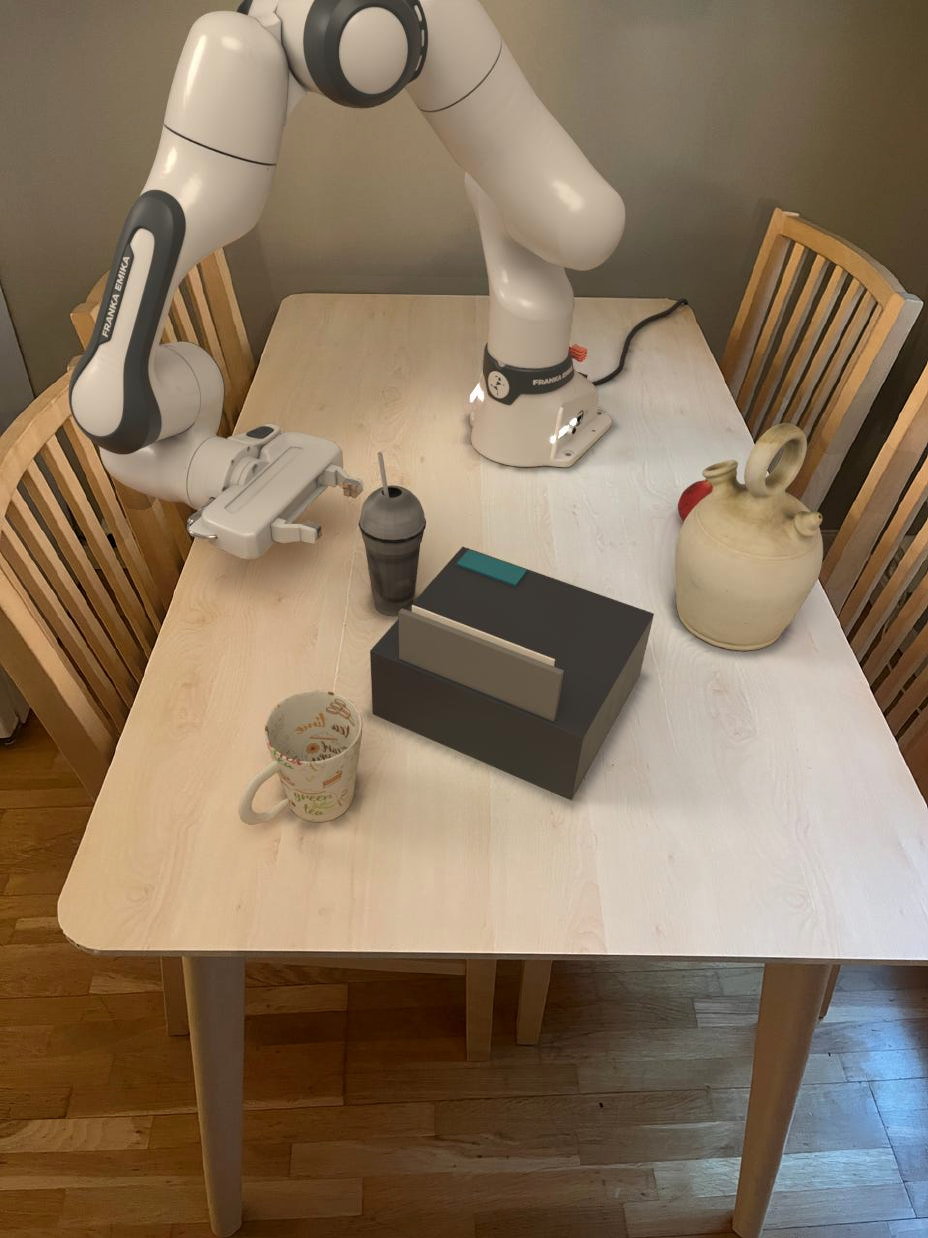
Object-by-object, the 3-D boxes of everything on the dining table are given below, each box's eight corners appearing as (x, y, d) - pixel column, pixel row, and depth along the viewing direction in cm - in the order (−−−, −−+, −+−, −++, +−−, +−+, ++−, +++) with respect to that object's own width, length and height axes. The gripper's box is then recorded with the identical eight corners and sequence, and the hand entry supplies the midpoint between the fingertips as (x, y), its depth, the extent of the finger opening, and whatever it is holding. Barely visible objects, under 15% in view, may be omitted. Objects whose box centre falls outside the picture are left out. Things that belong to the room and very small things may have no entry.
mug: (384, 794, 87) (382, 723, 80) (280, 880, 80) (267, 810, 73) (324, 747, 91) (317, 675, 84) (220, 825, 83) (203, 753, 77)
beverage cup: (417, 629, 104) (417, 478, 91) (354, 618, 105) (346, 468, 91) (431, 588, 109) (434, 440, 96) (372, 579, 110) (366, 431, 97)
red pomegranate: (669, 536, 119) (682, 484, 113) (676, 512, 123) (688, 460, 118) (715, 547, 118) (729, 494, 112) (720, 522, 122) (735, 470, 116)
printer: (461, 606, 107) (466, 493, 97) (640, 673, 100) (667, 560, 90) (372, 714, 94) (367, 598, 84) (571, 800, 87) (593, 685, 77)
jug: (638, 589, 111) (678, 401, 94) (747, 564, 115) (805, 380, 98) (706, 676, 100) (765, 481, 83) (824, 645, 105) (902, 454, 88)
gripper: (172, 505, 96) (288, 540, 92) (276, 415, 110) (380, 442, 106) (182, 553, 100) (293, 588, 96) (281, 461, 114) (381, 488, 111)
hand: (340, 511), depth 102 cm, fingers open, 8 cm apart
